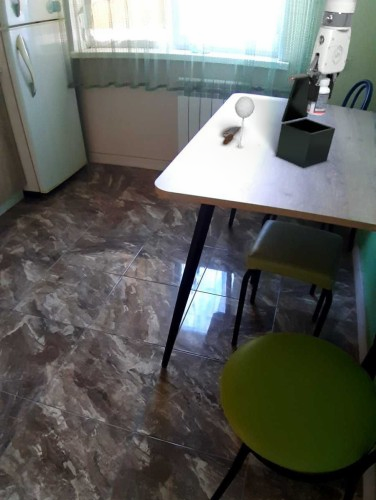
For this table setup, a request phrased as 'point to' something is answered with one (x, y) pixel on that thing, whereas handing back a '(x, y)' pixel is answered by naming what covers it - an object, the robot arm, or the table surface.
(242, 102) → the lollipop
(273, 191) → the table surface
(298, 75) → the bin lid
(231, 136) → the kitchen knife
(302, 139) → the bin
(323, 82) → the pill bottle
